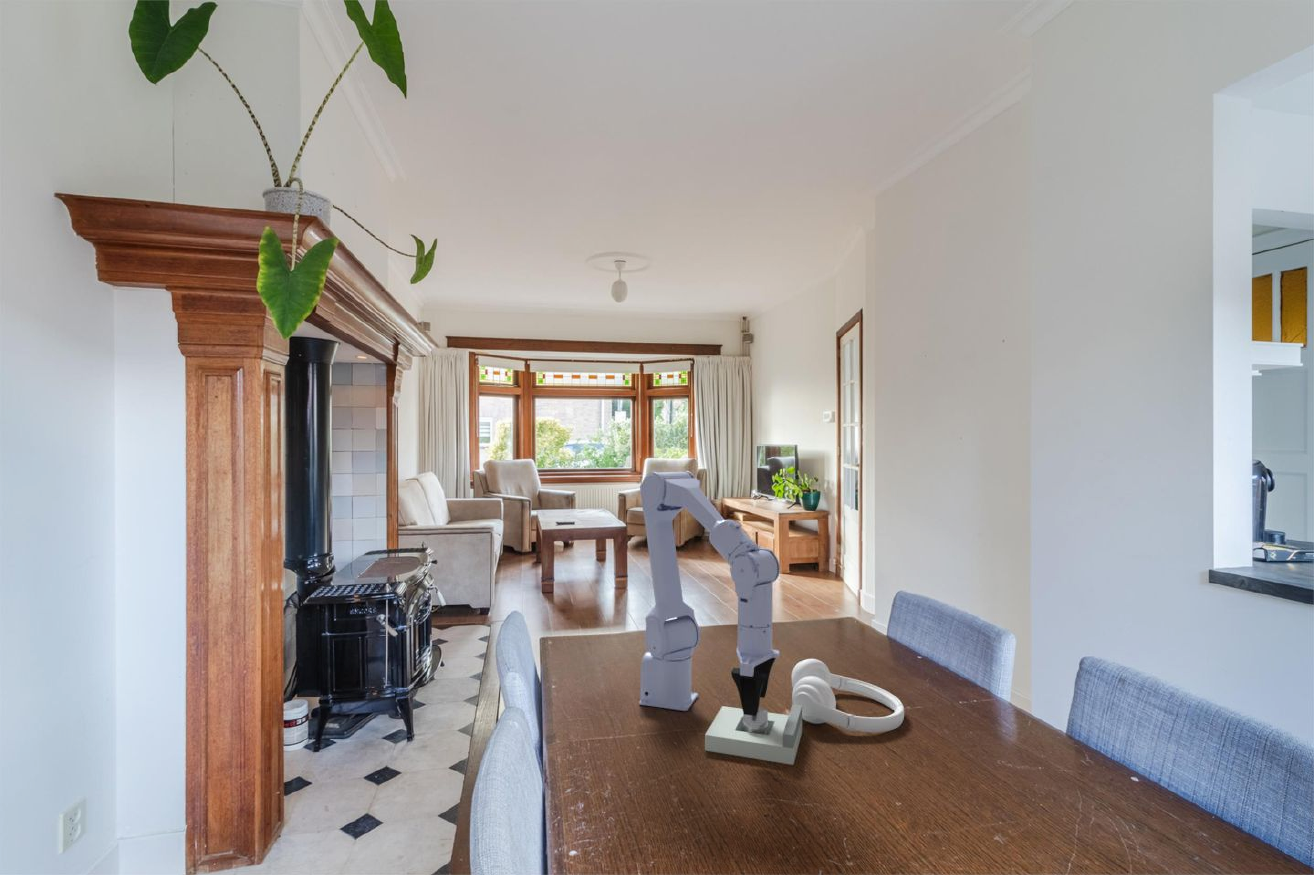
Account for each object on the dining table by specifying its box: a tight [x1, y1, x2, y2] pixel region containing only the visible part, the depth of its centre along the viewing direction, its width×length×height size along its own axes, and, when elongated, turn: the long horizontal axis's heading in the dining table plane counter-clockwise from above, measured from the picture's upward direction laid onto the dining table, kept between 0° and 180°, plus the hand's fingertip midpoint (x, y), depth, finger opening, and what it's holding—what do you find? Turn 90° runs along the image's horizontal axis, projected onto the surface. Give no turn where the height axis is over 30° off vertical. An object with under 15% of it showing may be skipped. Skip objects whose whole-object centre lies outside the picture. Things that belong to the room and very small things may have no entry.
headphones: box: [791, 658, 905, 733], centre depth 117 cm, size 20×8×20 cm
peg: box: [743, 705, 769, 735], centre depth 105 cm, size 4×4×5 cm
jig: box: [704, 704, 803, 766], centre depth 105 cm, size 14×12×4 cm
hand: (754, 705), depth 105 cm, fingers open, 7 cm apart
